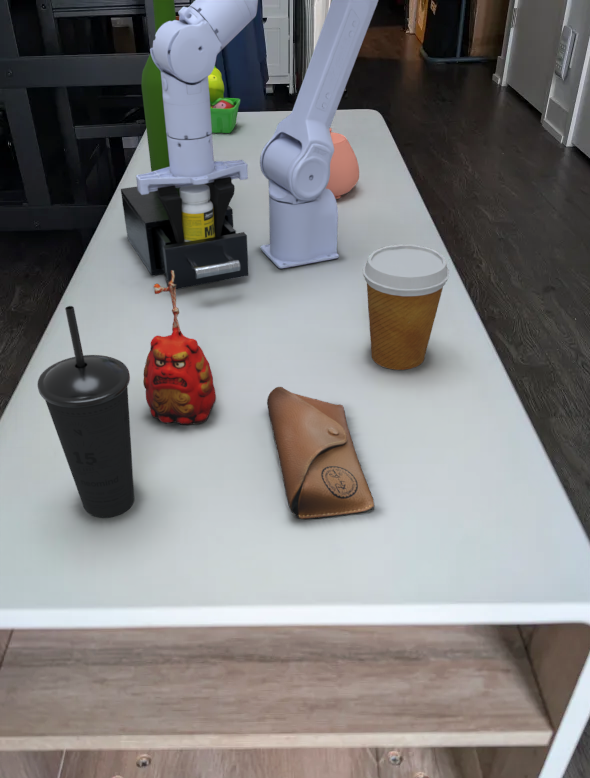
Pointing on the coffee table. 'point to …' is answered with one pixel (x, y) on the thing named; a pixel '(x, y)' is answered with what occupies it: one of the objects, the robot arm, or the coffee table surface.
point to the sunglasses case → (317, 457)
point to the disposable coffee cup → (403, 302)
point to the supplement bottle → (197, 212)
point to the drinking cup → (92, 425)
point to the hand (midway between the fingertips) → (197, 238)
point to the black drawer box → (148, 223)
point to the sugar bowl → (342, 166)
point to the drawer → (201, 256)
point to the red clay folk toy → (178, 374)
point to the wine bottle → (156, 95)
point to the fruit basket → (221, 105)
